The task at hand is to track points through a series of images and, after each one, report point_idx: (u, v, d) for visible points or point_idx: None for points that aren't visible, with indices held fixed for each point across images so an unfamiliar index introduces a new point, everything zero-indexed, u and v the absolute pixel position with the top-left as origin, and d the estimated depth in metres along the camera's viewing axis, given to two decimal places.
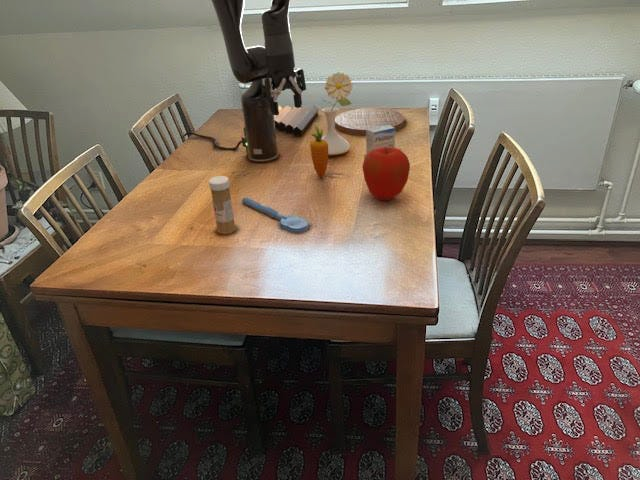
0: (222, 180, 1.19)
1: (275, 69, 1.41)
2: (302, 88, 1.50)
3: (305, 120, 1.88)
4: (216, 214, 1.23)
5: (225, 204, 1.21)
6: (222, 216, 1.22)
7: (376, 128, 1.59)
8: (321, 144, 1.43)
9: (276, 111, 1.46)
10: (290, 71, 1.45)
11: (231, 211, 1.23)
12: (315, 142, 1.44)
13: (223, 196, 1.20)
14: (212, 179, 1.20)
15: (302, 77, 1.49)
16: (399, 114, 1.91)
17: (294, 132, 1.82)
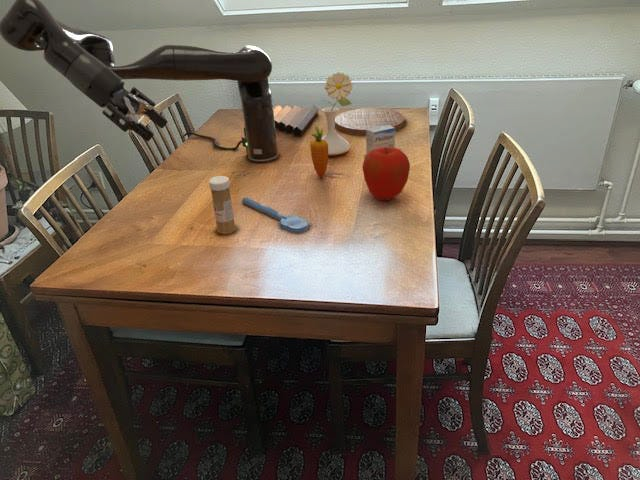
0: (222, 180, 1.19)
1: (107, 91, 1.09)
2: (151, 104, 1.19)
3: (305, 120, 1.88)
4: (216, 214, 1.23)
5: (225, 204, 1.21)
6: (222, 216, 1.22)
7: (376, 128, 1.59)
8: (321, 144, 1.43)
9: (148, 132, 1.11)
10: (124, 91, 1.14)
11: (231, 211, 1.23)
12: (315, 142, 1.44)
13: (223, 196, 1.20)
14: (212, 179, 1.20)
15: (141, 94, 1.18)
16: (399, 114, 1.91)
17: (294, 132, 1.82)
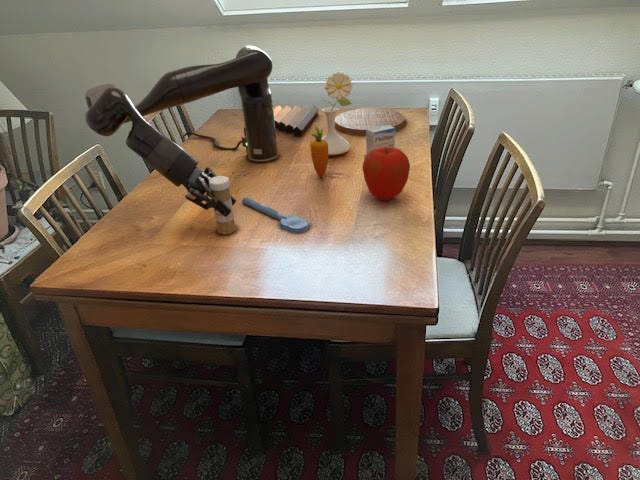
0: (222, 180, 1.19)
1: (185, 174, 1.16)
2: None
3: (305, 120, 1.88)
4: (216, 214, 1.23)
5: (225, 204, 1.21)
6: (222, 216, 1.22)
7: (376, 128, 1.59)
8: (321, 144, 1.43)
9: (226, 209, 1.21)
10: (197, 170, 1.22)
11: (231, 211, 1.23)
12: (315, 142, 1.44)
13: (223, 196, 1.20)
14: (212, 179, 1.20)
15: (213, 173, 1.26)
16: (399, 114, 1.91)
17: (294, 132, 1.82)
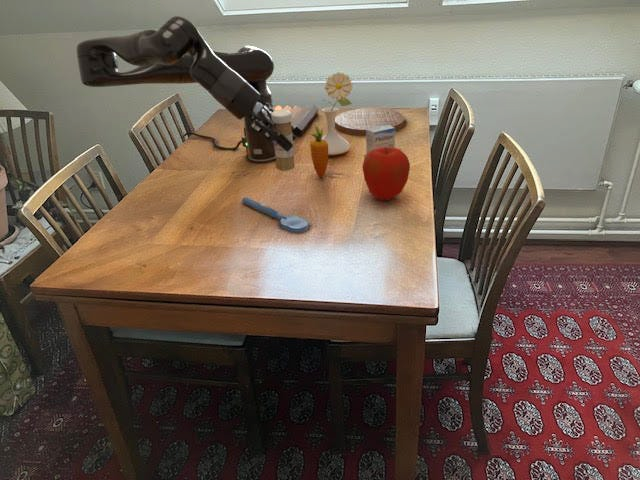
0: (285, 113, 1.18)
1: (249, 105, 1.15)
2: None
3: (305, 120, 1.88)
4: (277, 149, 1.21)
5: (287, 138, 1.19)
6: (284, 151, 1.21)
7: (376, 128, 1.59)
8: (321, 144, 1.43)
9: (289, 142, 1.19)
10: (258, 104, 1.20)
11: (292, 147, 1.22)
12: (315, 142, 1.44)
13: (286, 130, 1.18)
14: (274, 112, 1.18)
15: (272, 109, 1.24)
16: (399, 114, 1.91)
17: (294, 132, 1.82)
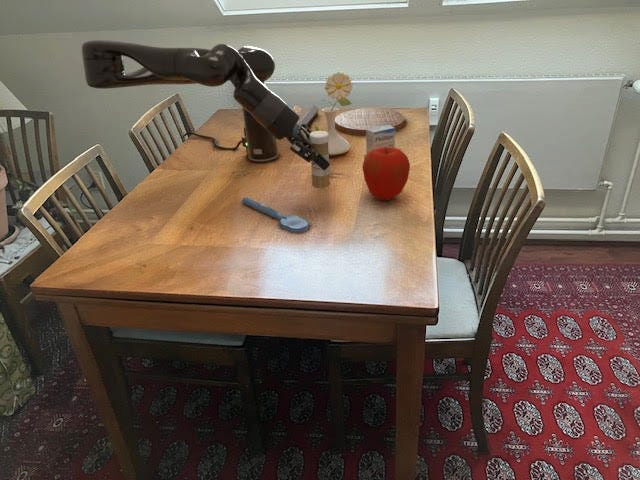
0: (323, 134, 1.23)
1: (289, 126, 1.20)
2: None
3: (305, 120, 1.88)
4: (314, 168, 1.27)
5: (324, 157, 1.25)
6: (320, 170, 1.26)
7: (376, 128, 1.59)
8: None
9: (326, 162, 1.25)
10: (297, 125, 1.26)
11: None
12: None
13: (323, 150, 1.24)
14: (312, 133, 1.24)
15: (309, 129, 1.29)
16: (399, 114, 1.91)
17: None
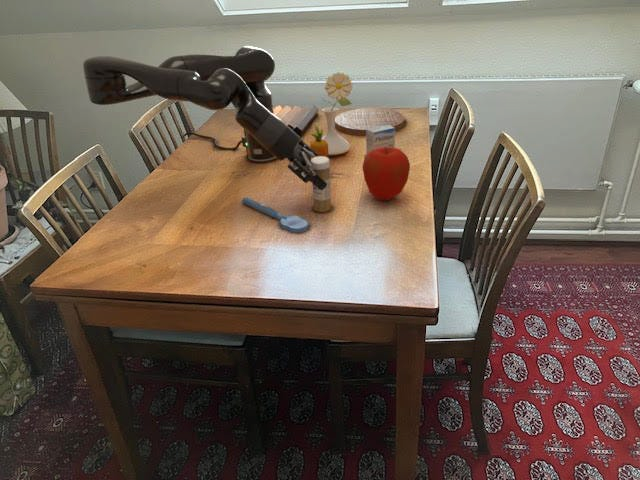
0: (324, 160, 1.27)
1: (290, 148, 1.23)
2: (315, 155, 1.33)
3: (305, 120, 1.88)
4: (315, 192, 1.30)
5: None
6: (322, 194, 1.30)
7: (376, 128, 1.59)
8: (321, 144, 1.43)
9: (323, 182, 1.25)
10: (297, 145, 1.28)
11: (329, 190, 1.31)
12: (315, 142, 1.44)
13: (324, 175, 1.27)
14: (314, 159, 1.27)
15: (307, 146, 1.32)
16: (399, 114, 1.91)
17: None
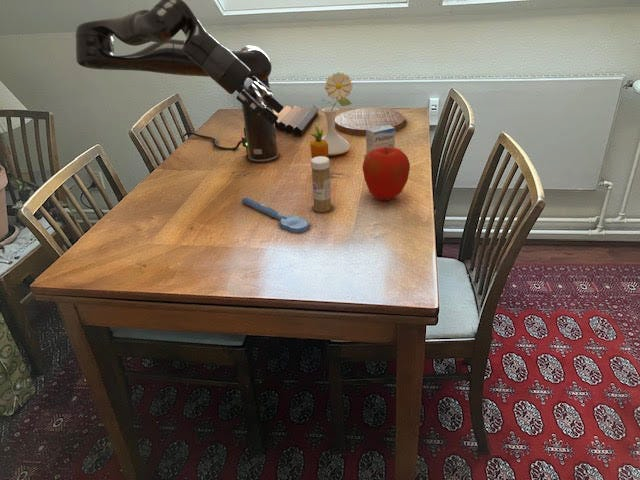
0: (324, 160, 1.27)
1: (239, 79, 1.21)
2: (269, 91, 1.31)
3: (305, 120, 1.88)
4: (315, 192, 1.30)
5: (325, 182, 1.28)
6: (322, 194, 1.30)
7: (376, 128, 1.59)
8: (321, 144, 1.43)
9: (274, 115, 1.23)
10: (249, 79, 1.26)
11: (329, 190, 1.31)
12: (315, 142, 1.44)
13: (324, 175, 1.27)
14: (314, 159, 1.27)
15: (260, 82, 1.30)
16: (399, 114, 1.91)
17: (294, 132, 1.82)
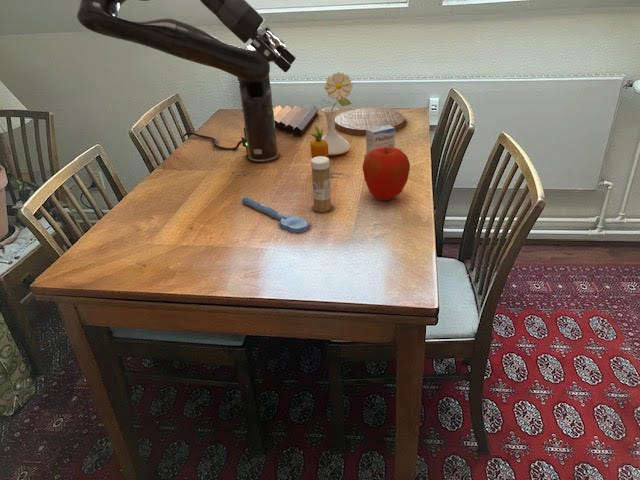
0: (324, 160, 1.27)
1: (253, 27, 1.23)
2: None
3: (305, 120, 1.88)
4: (315, 192, 1.30)
5: (325, 182, 1.28)
6: (322, 194, 1.30)
7: (376, 128, 1.59)
8: (321, 144, 1.43)
9: (287, 63, 1.26)
10: (262, 29, 1.29)
11: (329, 190, 1.31)
12: (315, 142, 1.44)
13: (324, 175, 1.27)
14: (314, 159, 1.27)
15: (273, 33, 1.33)
16: (399, 114, 1.91)
17: (294, 132, 1.82)
